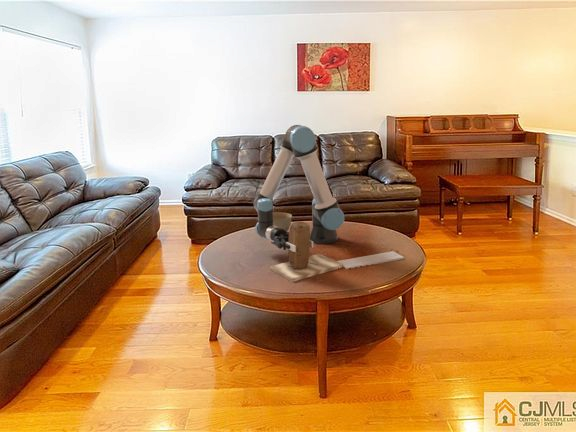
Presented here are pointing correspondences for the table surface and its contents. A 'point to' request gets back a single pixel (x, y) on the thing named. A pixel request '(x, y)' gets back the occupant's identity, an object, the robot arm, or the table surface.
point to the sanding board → (307, 268)
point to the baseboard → (371, 259)
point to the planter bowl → (282, 220)
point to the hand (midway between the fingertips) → (304, 246)
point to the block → (299, 244)
